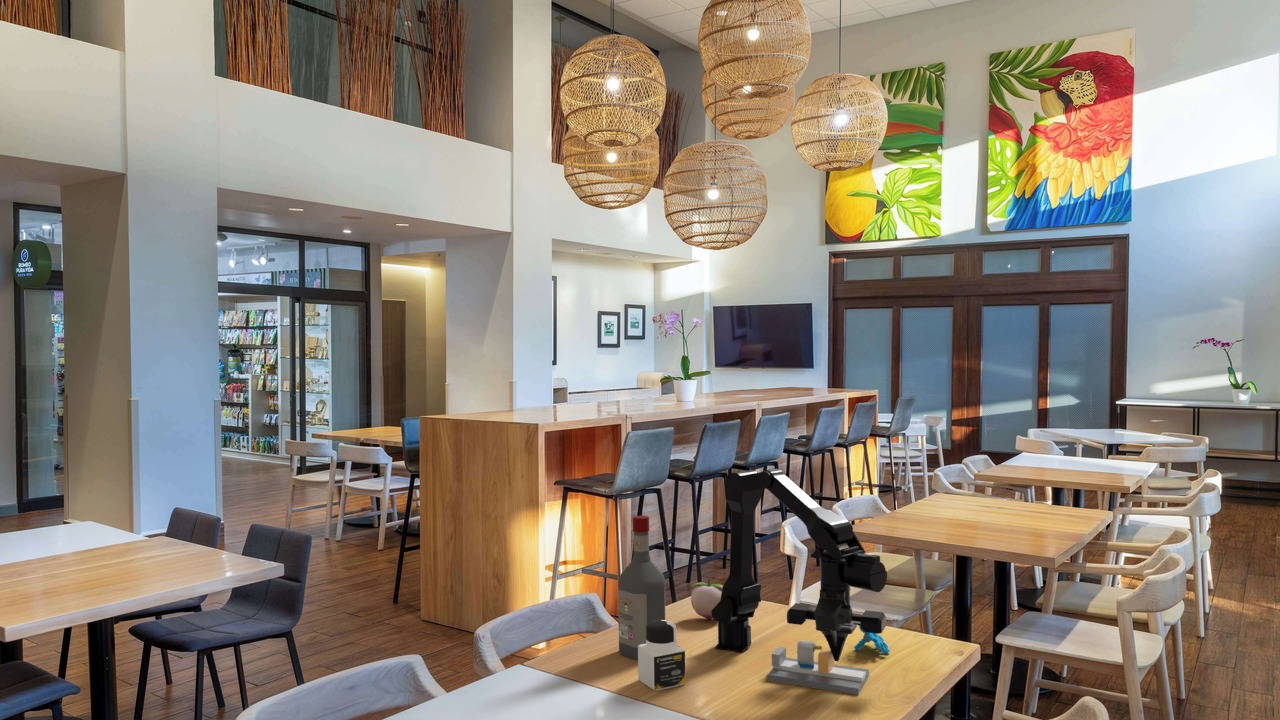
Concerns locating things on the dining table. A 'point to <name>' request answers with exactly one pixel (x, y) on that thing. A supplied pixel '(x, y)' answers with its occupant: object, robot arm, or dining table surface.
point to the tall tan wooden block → (825, 660)
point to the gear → (875, 638)
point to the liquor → (639, 593)
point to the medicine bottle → (661, 657)
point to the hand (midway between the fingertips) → (836, 660)
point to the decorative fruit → (705, 598)
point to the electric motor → (806, 653)
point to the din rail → (816, 675)
